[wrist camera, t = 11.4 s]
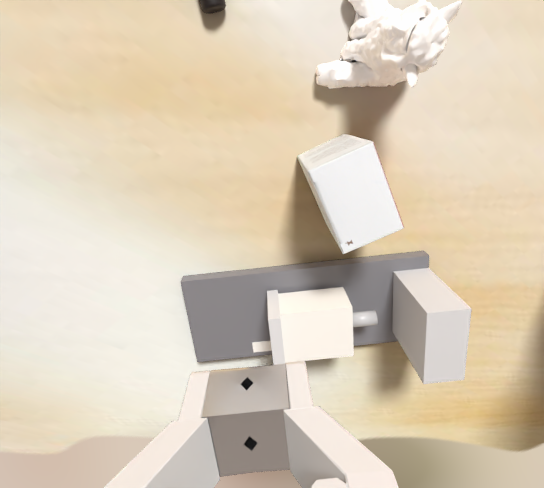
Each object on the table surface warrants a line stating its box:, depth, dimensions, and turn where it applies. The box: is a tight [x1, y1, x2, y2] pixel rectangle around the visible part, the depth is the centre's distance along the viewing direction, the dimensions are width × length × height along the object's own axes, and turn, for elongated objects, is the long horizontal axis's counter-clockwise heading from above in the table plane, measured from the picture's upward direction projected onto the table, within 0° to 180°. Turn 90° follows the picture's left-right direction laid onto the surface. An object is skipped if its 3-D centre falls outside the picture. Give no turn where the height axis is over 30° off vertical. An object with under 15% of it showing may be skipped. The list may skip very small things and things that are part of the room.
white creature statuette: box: [316, 0, 462, 89], centre depth 29 cm, size 10×9×12 cm
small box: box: [297, 134, 404, 254], centre depth 34 cm, size 8×6×10 cm
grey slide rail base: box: [181, 251, 471, 384], centre depth 40 cm, size 28×11×10 cm, turn 96°
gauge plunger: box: [267, 287, 378, 366], centre depth 40 cm, size 12×9×6 cm
